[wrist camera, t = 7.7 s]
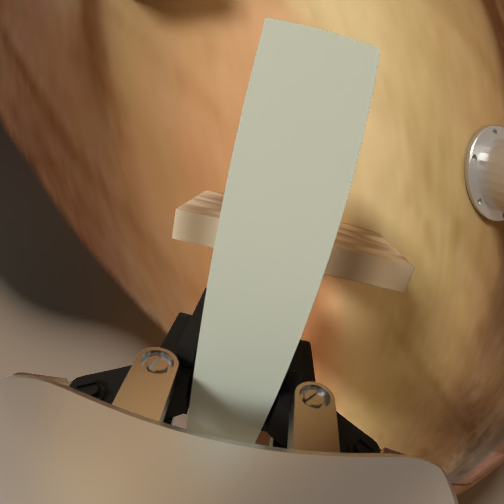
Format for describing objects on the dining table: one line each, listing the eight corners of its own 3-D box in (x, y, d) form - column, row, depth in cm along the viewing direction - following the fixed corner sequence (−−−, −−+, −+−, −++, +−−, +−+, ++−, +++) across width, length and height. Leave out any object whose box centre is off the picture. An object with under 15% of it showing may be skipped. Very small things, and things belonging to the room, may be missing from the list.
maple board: (379, 233, 31) (414, 267, 22) (372, 252, 32) (404, 292, 23) (206, 190, 31) (176, 208, 22) (202, 211, 32) (172, 238, 23)
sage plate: (274, 111, 19) (265, 17, 4) (306, 119, 19) (380, 48, 4) (222, 339, 26) (180, 496, 11) (248, 344, 26) (222, 505, 11)
